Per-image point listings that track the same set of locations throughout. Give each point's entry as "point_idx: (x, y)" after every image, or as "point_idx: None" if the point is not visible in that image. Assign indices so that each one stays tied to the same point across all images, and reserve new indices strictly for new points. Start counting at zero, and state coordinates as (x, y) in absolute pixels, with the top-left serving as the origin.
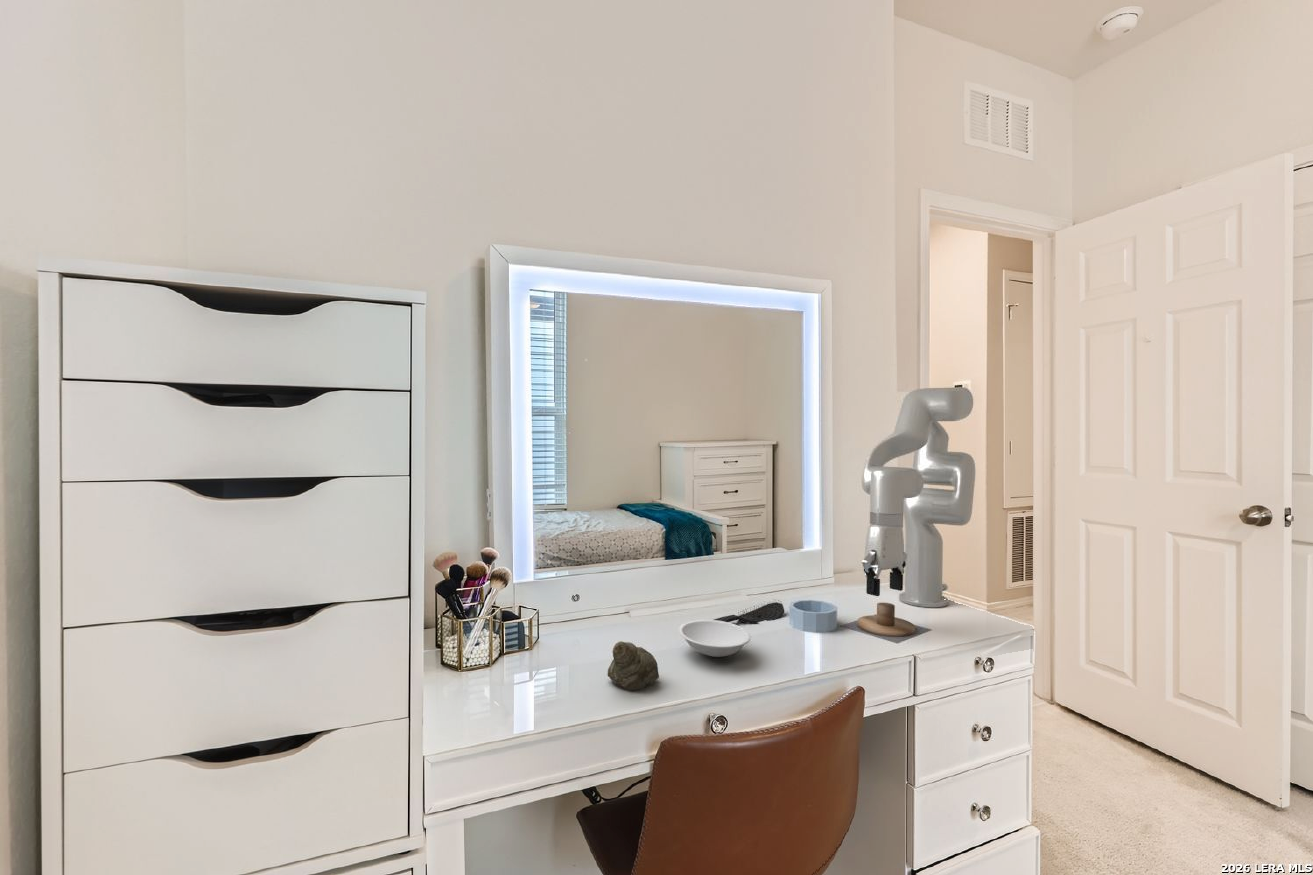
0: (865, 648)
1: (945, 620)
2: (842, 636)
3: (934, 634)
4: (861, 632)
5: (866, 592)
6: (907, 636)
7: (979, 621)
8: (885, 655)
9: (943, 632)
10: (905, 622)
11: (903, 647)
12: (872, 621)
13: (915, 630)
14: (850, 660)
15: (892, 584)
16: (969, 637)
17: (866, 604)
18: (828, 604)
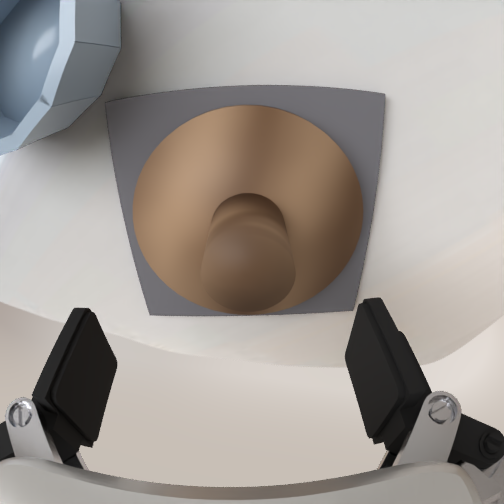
0: (60, 275)
1: (471, 273)
2: (57, 176)
3: (332, 319)
4: (120, 200)
5: (73, 309)
6: None
7: (490, 313)
8: None
9: None
10: (327, 261)
11: (155, 324)
12: (224, 178)
13: None
14: (4, 292)
15: (364, 337)
16: None
17: (478, 11)
18: (61, 36)
